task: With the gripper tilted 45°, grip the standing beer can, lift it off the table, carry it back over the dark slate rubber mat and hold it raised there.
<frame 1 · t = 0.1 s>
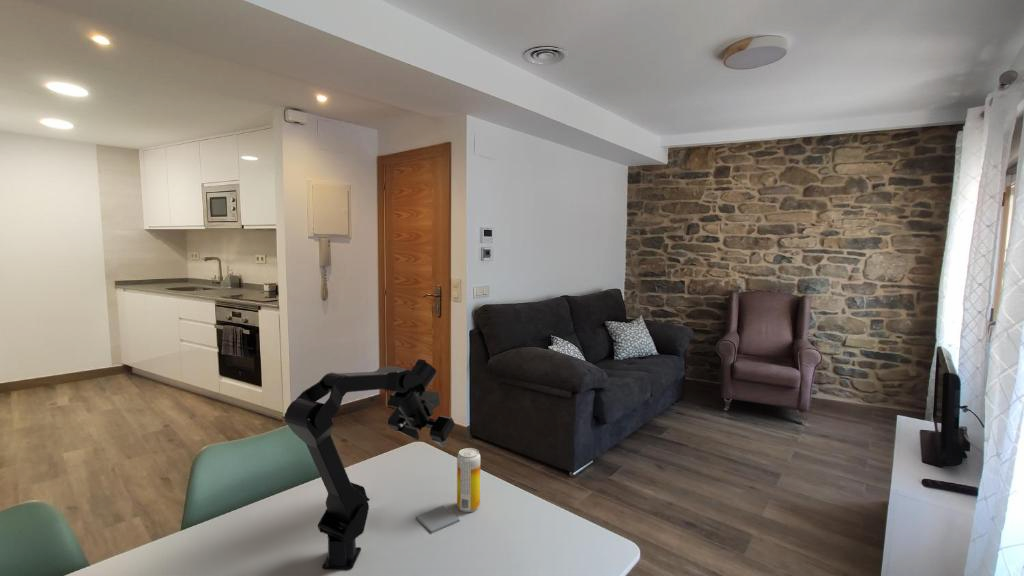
hand: (431, 442, 128), 15 cm above the table, tool tilted 35°, fingers open, 9 cm apart
beer can: (468, 507, 123), on the table
slate mat: (437, 519, 117), on the table
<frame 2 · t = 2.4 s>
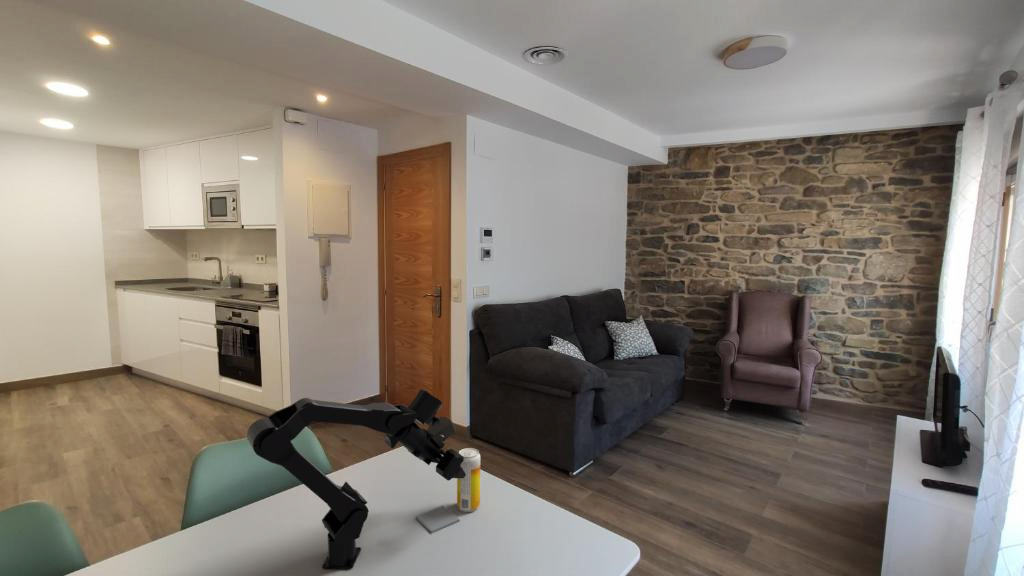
hand: (454, 469, 119), 12 cm above the table, tool tilted 45°, fingers open, 9 cm apart
nothing on the table moved.
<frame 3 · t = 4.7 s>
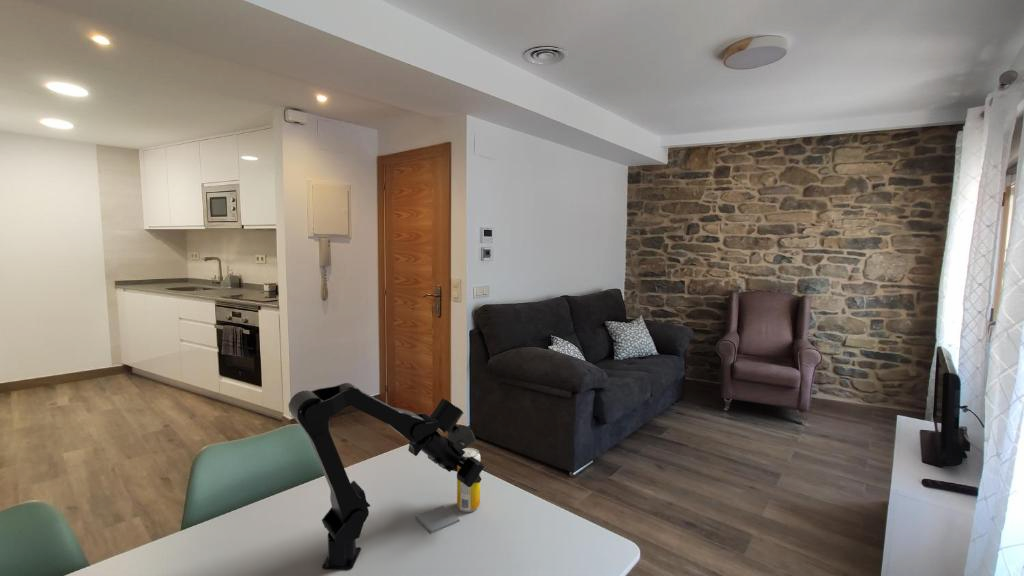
hand: (473, 476, 123), 8 cm above the table, tool tilted 45°, fingers closed on beer can, 6 cm apart
beer can: (468, 507, 123), on the table, touching gripper
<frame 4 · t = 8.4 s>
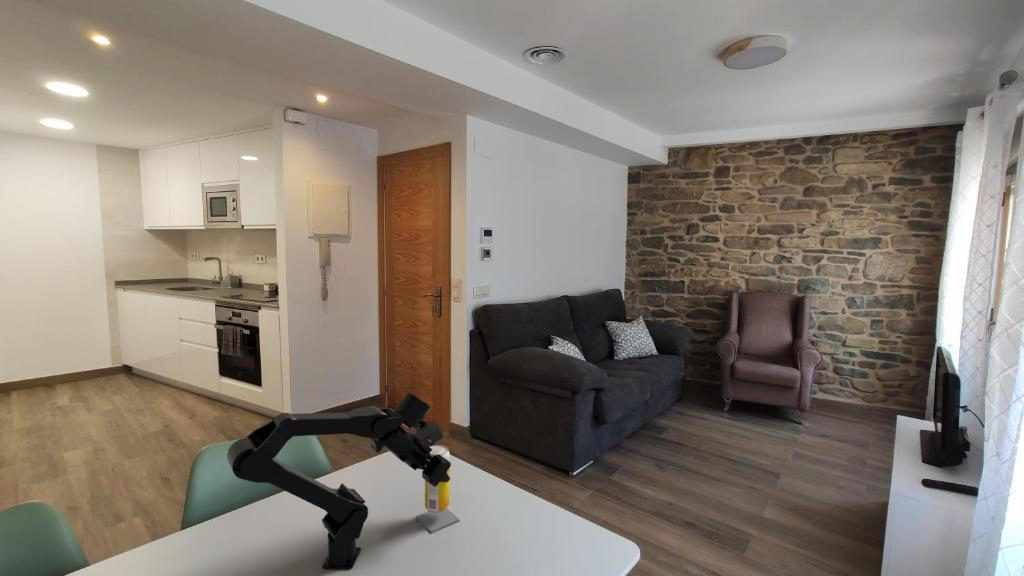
hand: (442, 475, 117), 11 cm above the table, tool tilted 45°, fingers closed on beer can, 6 cm apart
beer can: (437, 508, 117), point 3 cm above the table, touching gripper
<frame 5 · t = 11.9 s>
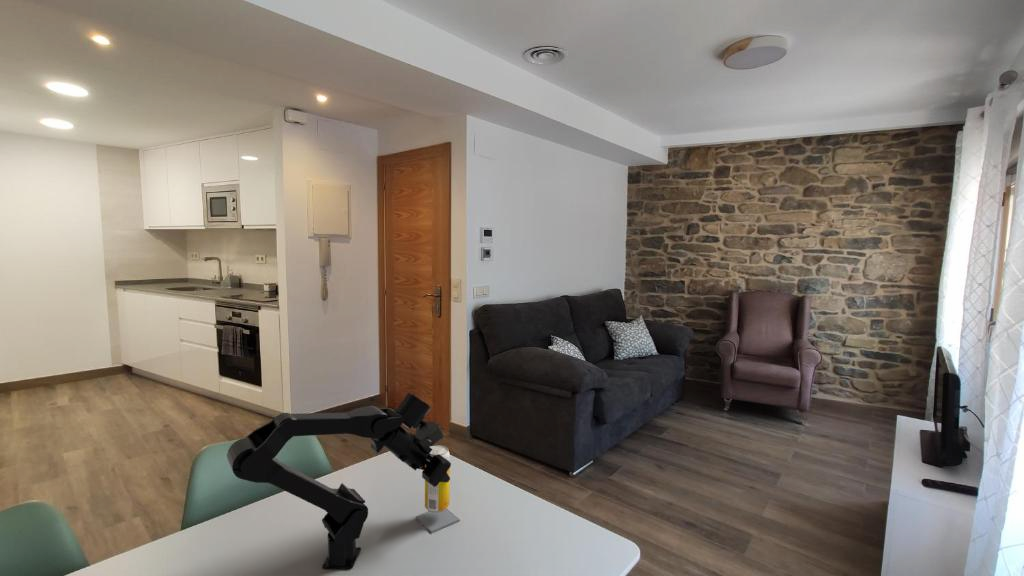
hand: (442, 475, 117), 11 cm above the table, tool tilted 45°, fingers closed on beer can, 6 cm apart
beer can: (437, 508, 117), point 3 cm above the table, touching gripper
at the end: the gripper is holding beer can; beer can point 3.0 cm above the table; beer can 0.2 cm from the slate mat (horizontally) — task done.
